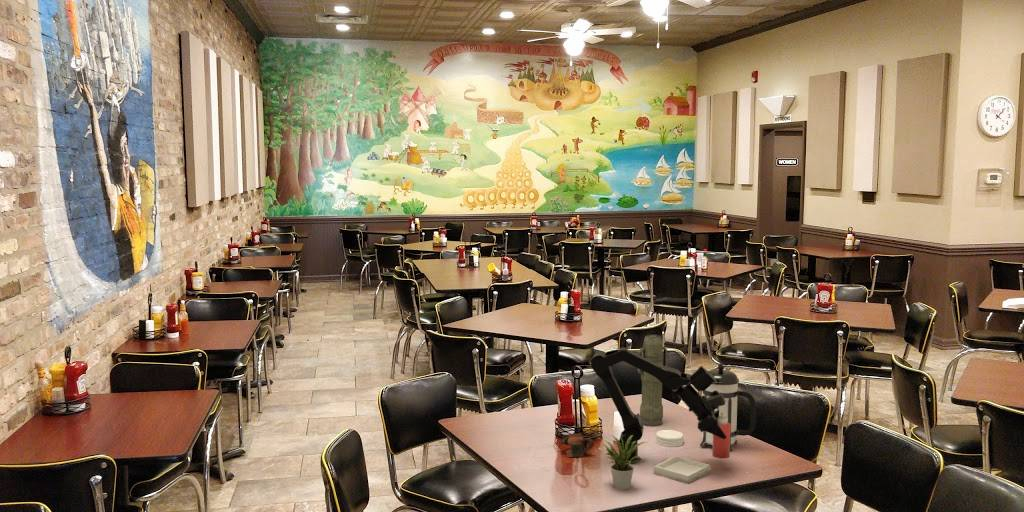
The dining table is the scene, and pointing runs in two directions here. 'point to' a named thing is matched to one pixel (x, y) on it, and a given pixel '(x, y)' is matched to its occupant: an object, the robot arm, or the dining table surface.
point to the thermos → (652, 382)
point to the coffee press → (728, 404)
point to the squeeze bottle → (722, 445)
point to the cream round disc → (669, 438)
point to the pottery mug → (577, 444)
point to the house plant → (622, 463)
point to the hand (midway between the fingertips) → (725, 435)
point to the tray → (681, 469)
